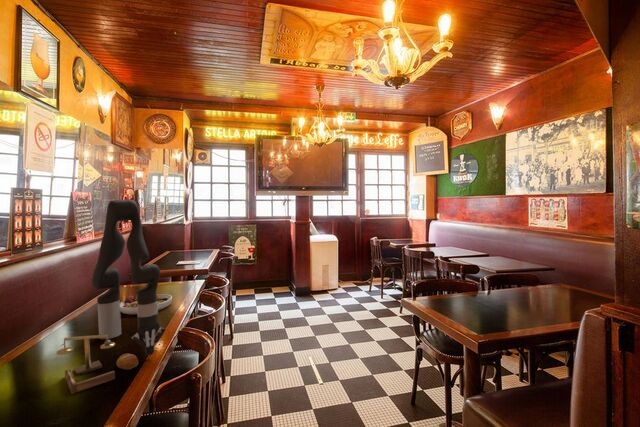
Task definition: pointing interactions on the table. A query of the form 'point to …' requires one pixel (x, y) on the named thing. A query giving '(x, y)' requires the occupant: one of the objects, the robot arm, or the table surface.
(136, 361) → the pastry
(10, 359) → the table surface
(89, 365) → the balance
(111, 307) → the robot arm
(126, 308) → the bowl
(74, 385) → the rail
